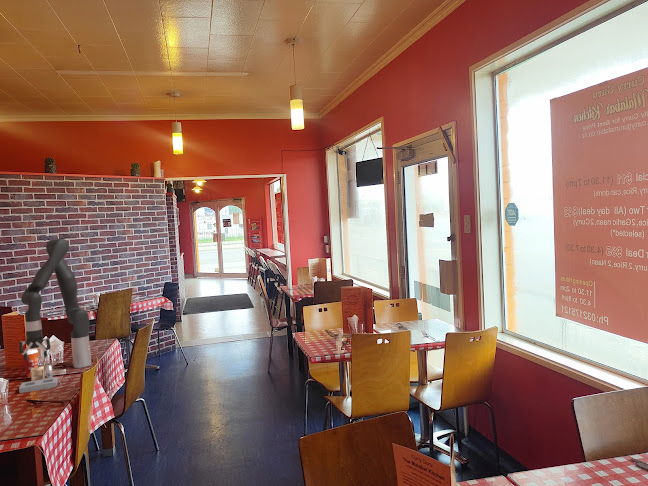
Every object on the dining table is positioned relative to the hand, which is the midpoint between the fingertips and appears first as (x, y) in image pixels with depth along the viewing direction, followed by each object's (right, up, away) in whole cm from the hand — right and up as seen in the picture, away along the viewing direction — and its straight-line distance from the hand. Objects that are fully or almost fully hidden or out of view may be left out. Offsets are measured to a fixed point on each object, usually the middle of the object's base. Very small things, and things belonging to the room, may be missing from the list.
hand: (35, 359), depth 262 cm
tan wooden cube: (+1, -11, +1) cm, 11 cm away
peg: (+9, -11, -2) cm, 14 cm away
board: (+9, -11, -13) cm, 20 cm away
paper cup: (-7, -11, +9) cm, 16 cm away
